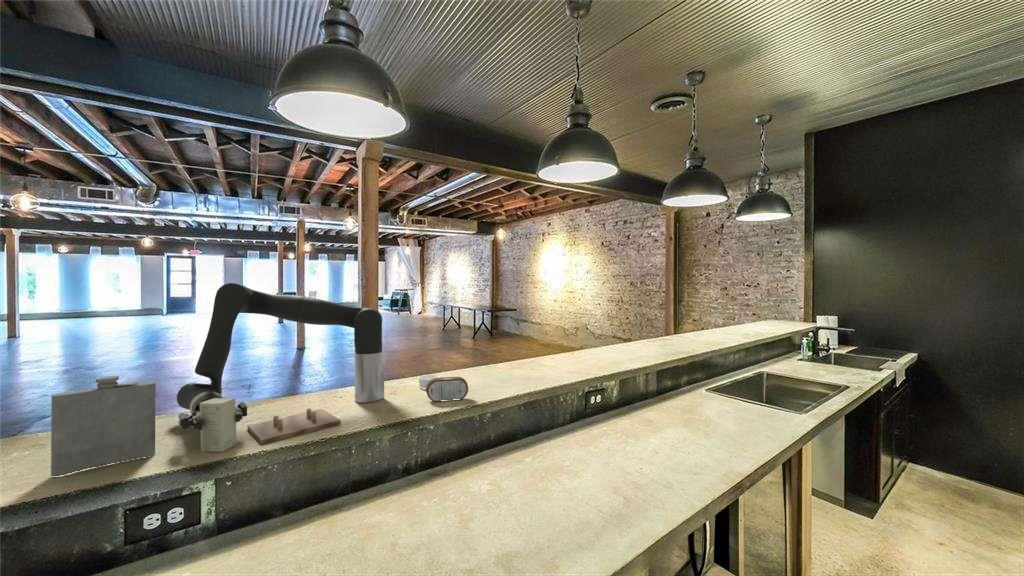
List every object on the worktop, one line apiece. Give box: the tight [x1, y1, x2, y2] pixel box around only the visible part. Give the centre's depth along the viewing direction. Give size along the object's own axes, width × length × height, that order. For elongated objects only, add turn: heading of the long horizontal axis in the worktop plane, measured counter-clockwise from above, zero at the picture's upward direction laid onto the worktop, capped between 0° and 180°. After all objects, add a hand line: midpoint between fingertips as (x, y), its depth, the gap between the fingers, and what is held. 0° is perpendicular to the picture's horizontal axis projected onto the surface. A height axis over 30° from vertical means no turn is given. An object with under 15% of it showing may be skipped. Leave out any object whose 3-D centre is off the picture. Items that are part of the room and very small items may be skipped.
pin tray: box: [247, 408, 342, 446], centre depth 107 cm, size 20×15×4 cm
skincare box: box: [199, 397, 238, 453], centre depth 92 cm, size 6×4×12 cm
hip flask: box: [50, 375, 157, 477], centre depth 84 cm, size 16×4×20 cm, turn 133°
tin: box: [425, 376, 469, 402], centre depth 132 cm, size 15×3×8 cm, turn 106°
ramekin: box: [418, 374, 441, 388], centre depth 150 cm, size 9×9×4 cm
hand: (220, 421), depth 91 cm, fingers closed on skincare box, 7 cm apart
